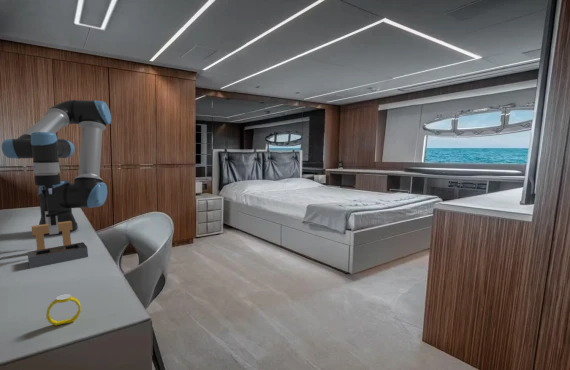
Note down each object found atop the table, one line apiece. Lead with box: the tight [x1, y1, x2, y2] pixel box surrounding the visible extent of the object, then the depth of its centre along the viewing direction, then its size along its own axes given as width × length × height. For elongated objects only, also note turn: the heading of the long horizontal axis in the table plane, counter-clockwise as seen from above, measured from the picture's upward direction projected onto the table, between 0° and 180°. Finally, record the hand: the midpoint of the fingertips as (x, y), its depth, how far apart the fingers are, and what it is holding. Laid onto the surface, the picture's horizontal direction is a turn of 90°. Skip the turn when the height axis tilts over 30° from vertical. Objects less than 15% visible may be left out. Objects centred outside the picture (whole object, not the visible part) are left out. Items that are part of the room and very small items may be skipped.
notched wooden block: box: [30, 221, 73, 250], centre depth 116 cm, size 12×3×10 cm, turn 132°
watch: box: [45, 293, 82, 326], centre depth 66 cm, size 6×3×6 cm, turn 122°
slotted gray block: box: [27, 241, 89, 269], centre depth 106 cm, size 16×8×4 cm, turn 132°
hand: (52, 230), depth 115 cm, fingers open, 13 cm apart
